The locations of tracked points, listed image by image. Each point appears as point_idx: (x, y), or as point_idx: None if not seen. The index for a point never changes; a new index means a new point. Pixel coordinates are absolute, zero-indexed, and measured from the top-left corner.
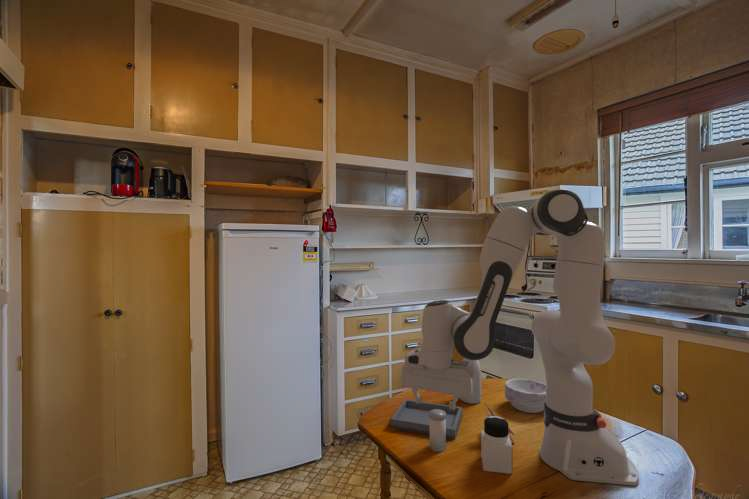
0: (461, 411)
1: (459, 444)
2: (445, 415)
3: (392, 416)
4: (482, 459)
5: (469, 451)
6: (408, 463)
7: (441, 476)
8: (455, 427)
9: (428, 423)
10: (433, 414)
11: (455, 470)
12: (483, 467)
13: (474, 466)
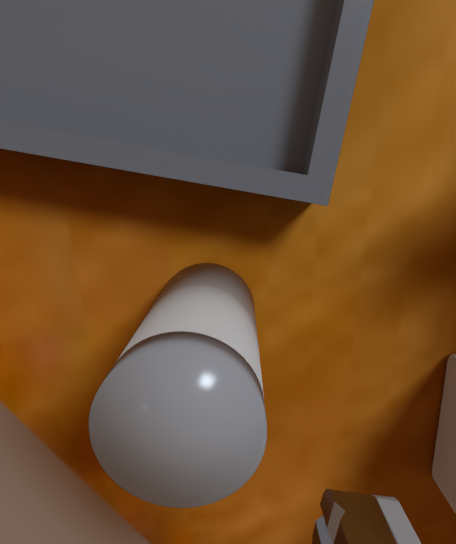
0: None
1: (337, 252)
2: (262, 447)
3: None
4: (450, 465)
5: (387, 318)
6: (73, 468)
7: (232, 533)
8: (333, 171)
9: (123, 36)
10: (137, 473)
11: (296, 486)
12: (438, 485)
13: (392, 445)
